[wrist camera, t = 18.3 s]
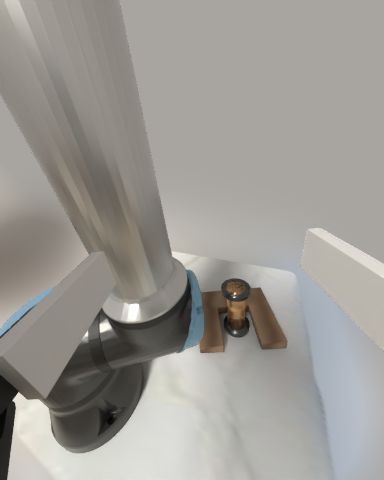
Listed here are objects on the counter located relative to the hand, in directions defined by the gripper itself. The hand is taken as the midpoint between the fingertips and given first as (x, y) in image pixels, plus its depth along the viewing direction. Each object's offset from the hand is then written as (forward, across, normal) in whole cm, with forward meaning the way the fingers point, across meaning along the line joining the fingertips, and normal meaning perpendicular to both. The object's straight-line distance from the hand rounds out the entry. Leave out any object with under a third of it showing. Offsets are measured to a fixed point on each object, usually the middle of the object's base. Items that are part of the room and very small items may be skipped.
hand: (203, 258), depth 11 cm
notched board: (+21, +6, -32) cm, 39 cm away
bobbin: (+19, +6, -32) cm, 37 cm away
